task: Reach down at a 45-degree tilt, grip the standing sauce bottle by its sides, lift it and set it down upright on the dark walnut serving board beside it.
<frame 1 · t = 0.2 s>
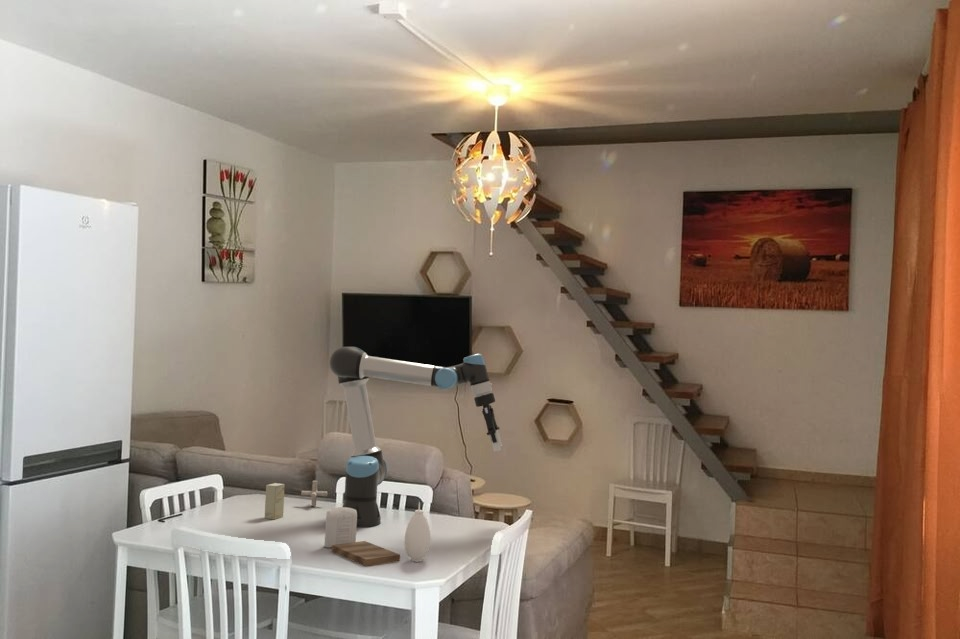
hand: (498, 449, 319), 28 cm above the table, tool tilted 20°, fingers open, 13 cm apart
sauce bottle: (416, 561, 258), on the table
pipe connector: (313, 506, 335), on the table
skincare box: (273, 518, 311), on the table
beige engraved tablet: (340, 546, 273), on the table
walnut board: (365, 556, 261), on the table
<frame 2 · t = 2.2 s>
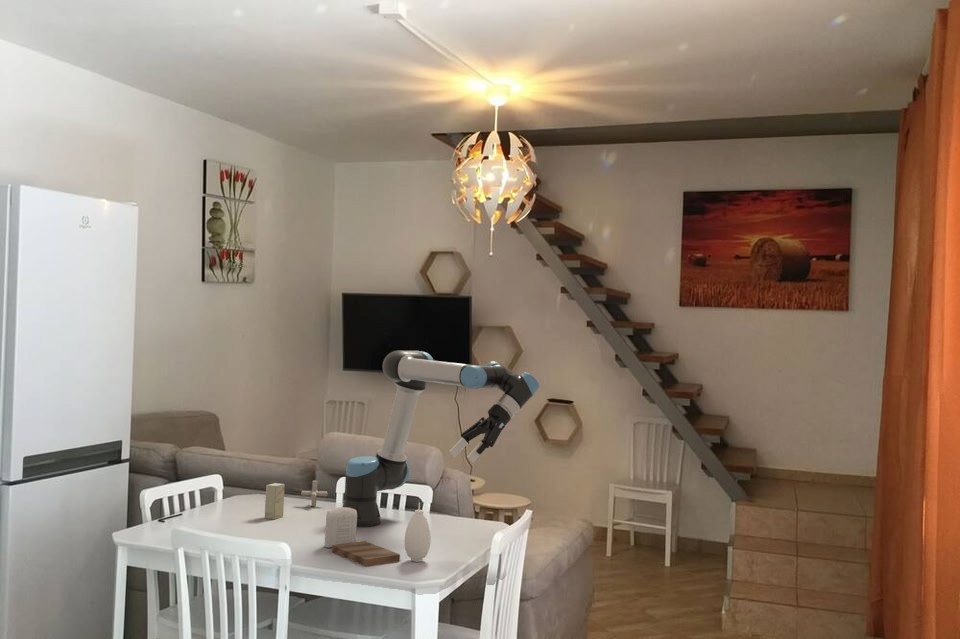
hand: (460, 457, 276), 30 cm above the table, tool tilted 45°, fingers open, 13 cm apart
nothing on the table moved.
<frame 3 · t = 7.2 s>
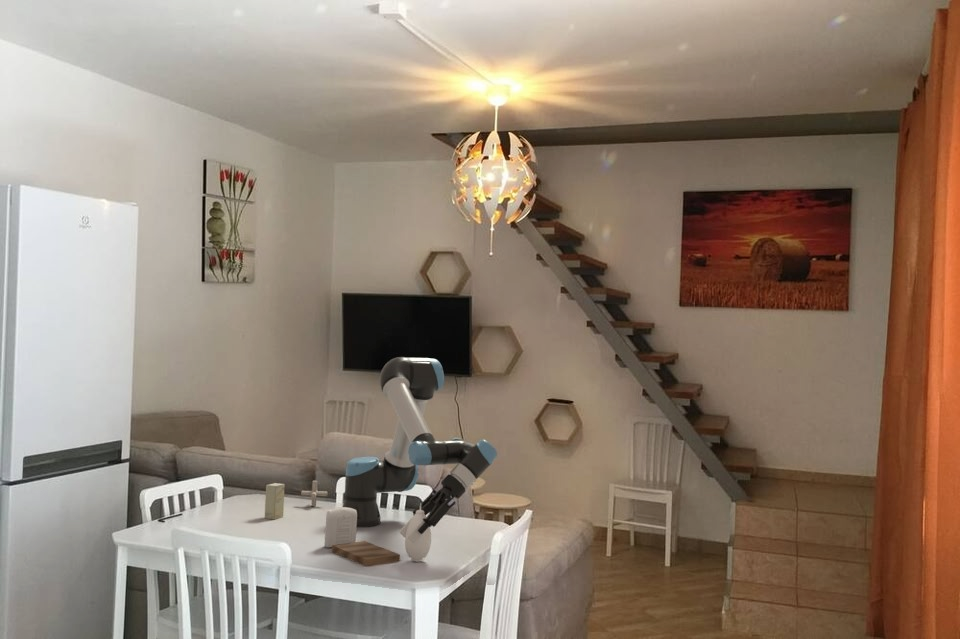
hand: (406, 537, 256), 8 cm above the table, tool tilted 45°, fingers closed on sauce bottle, 6 cm apart
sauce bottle: (416, 561, 258), on the table, touching gripper
everything else where it was.
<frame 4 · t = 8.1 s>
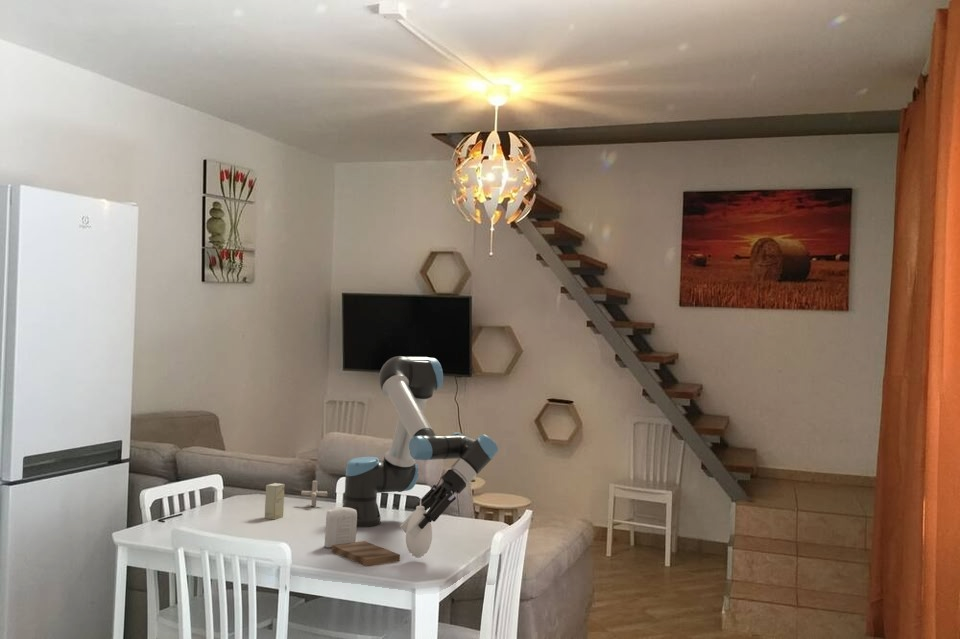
hand: (406, 532, 256), 9 cm above the table, tool tilted 45°, fingers closed on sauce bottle, 6 cm apart
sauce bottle: (417, 557, 258), point 1 cm above the table, touching gripper
everything else where it was.
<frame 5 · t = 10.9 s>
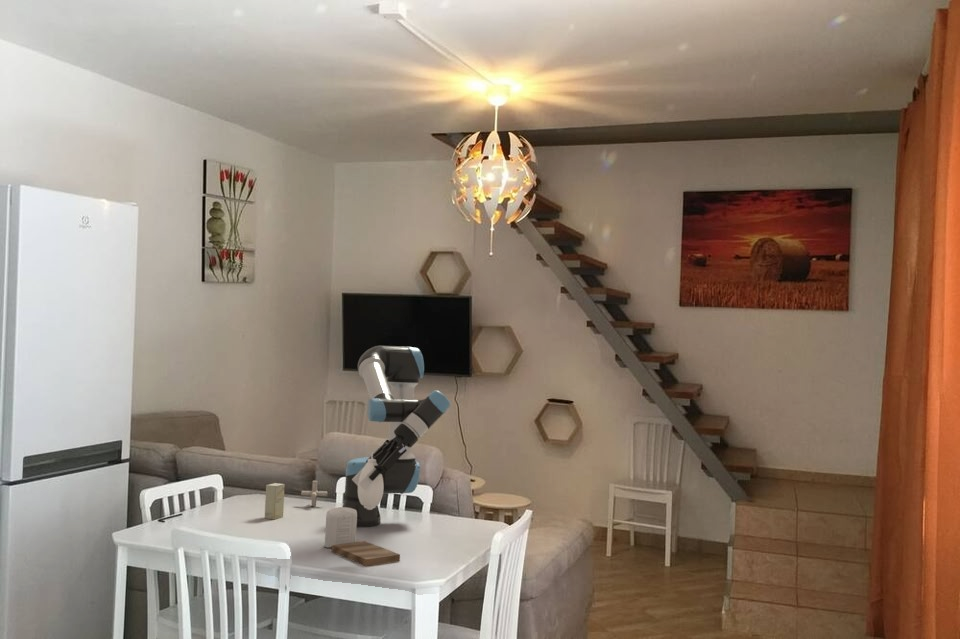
hand: (358, 484, 260), 22 cm above the table, tool tilted 45°, fingers closed on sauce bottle, 6 cm apart
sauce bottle: (369, 509, 262), point 14 cm above the table, touching gripper
everything else where it was.
when the fingers open (10 cm above the table, at t = 13.5 s): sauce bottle stays where it is, resting on walnut board.
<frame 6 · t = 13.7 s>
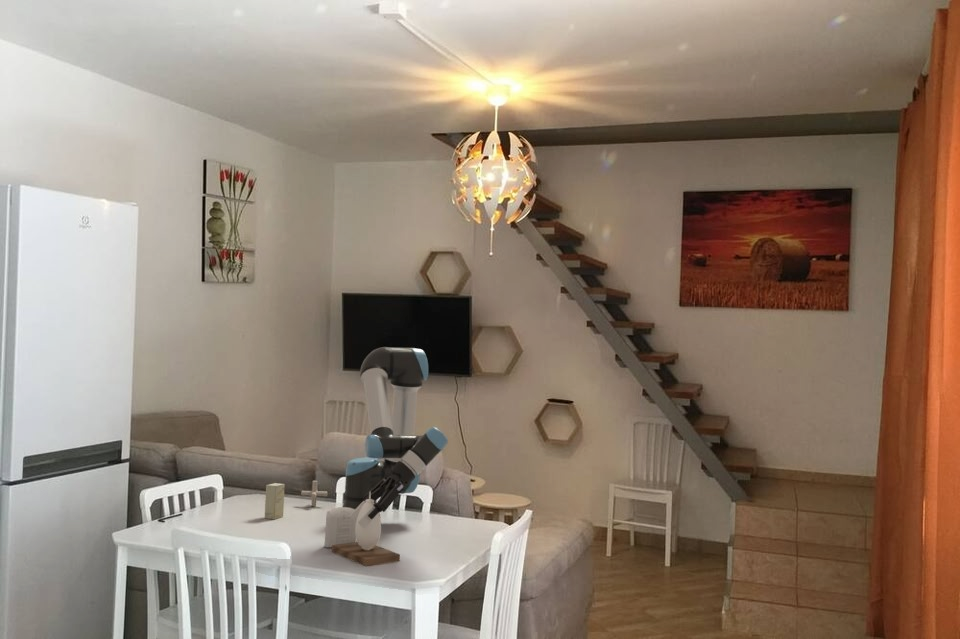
hand: (356, 522, 260), 11 cm above the table, tool tilted 45°, fingers open, 8 cm apart
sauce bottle: (367, 550, 261), point 2 cm above the table, touching walnut board
everything else where it was.
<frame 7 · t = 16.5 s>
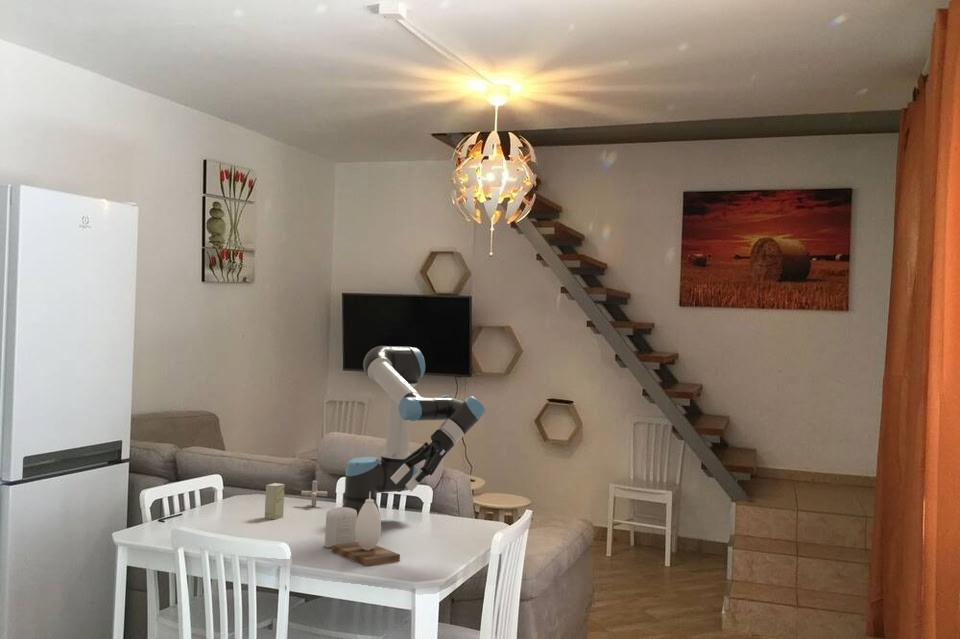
hand: (400, 484, 266), 22 cm above the table, tool tilted 45°, fingers open, 13 cm apart
nothing on the table moved.
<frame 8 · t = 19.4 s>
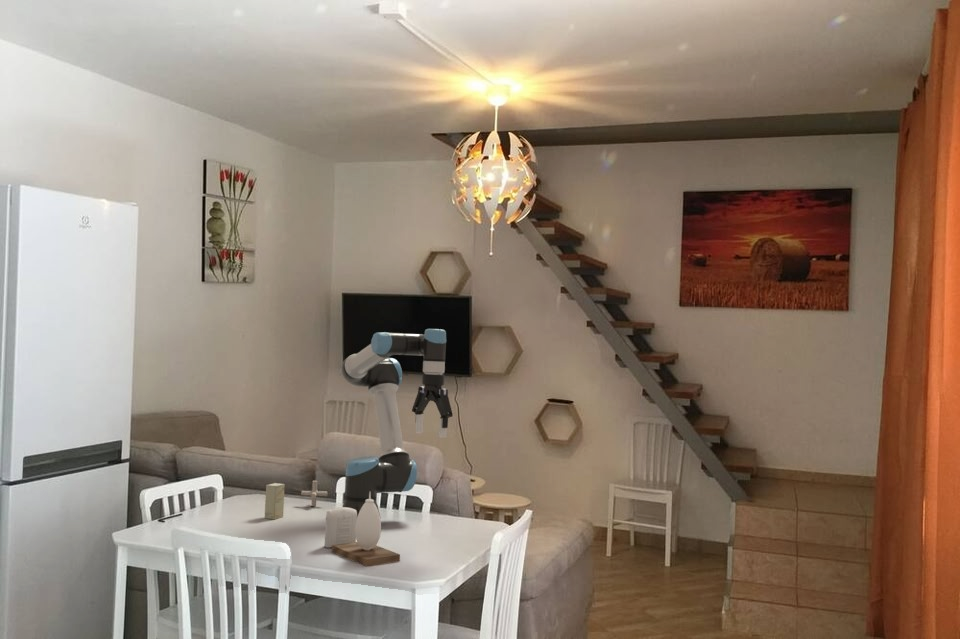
hand: (430, 435, 292), 35 cm above the table, tool pointing down, fingers open, 13 cm apart
nothing on the table moved.
at the end: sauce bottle inside the target area on the walnut board (0.5 cm from its centre), point 1.8 cm above the walnut board's base; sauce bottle tilted 0°; the gripper is holding nothing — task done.
